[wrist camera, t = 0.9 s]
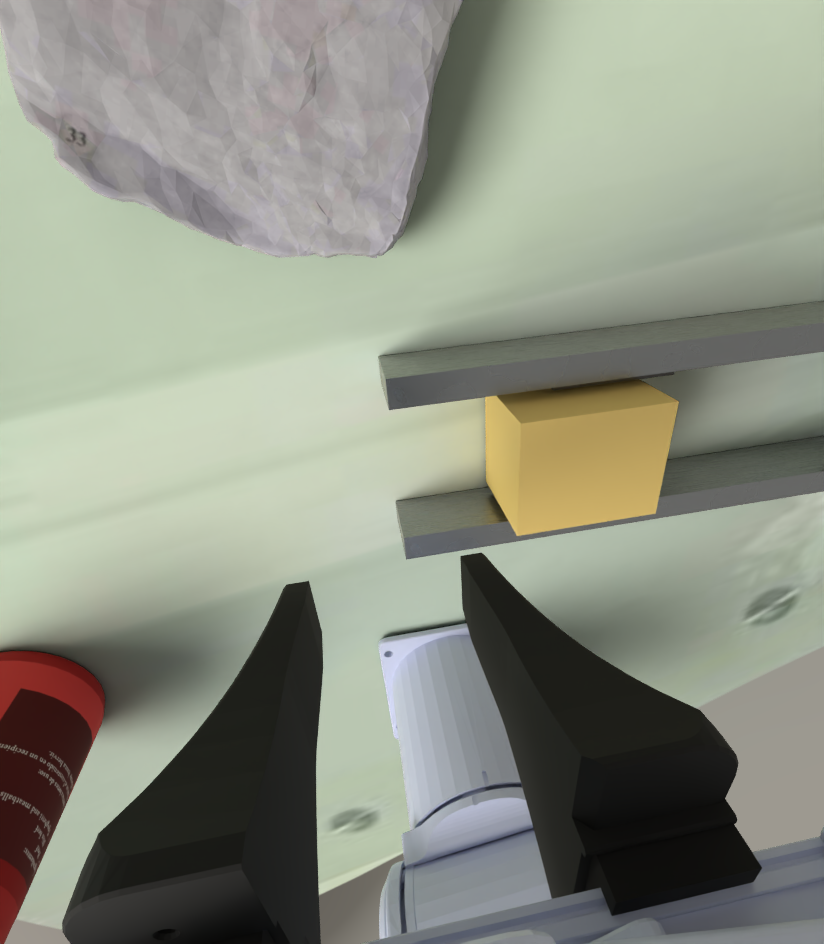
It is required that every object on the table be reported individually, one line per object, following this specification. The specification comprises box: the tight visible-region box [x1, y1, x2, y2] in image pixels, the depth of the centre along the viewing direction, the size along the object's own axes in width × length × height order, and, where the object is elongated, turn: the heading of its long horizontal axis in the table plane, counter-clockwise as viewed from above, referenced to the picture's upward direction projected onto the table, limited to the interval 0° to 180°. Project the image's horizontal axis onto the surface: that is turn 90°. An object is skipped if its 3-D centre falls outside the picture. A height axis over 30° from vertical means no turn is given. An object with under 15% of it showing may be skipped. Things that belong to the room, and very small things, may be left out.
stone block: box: [0, 0, 463, 258], centre depth 14 cm, size 12×5×10 cm
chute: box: [378, 301, 824, 559], centre depth 22 cm, size 8×25×3 cm, turn 95°
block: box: [485, 379, 679, 536], centre depth 20 cm, size 5×6×4 cm
